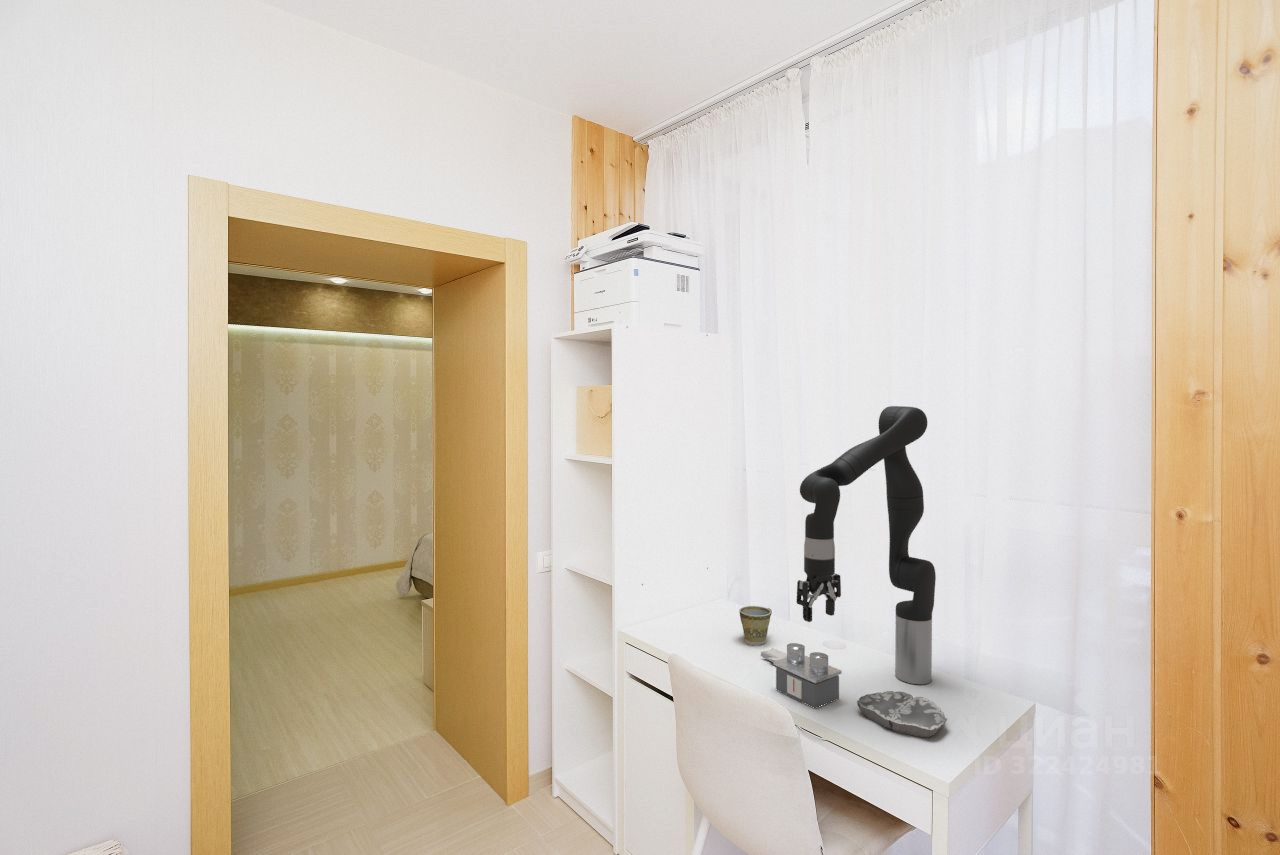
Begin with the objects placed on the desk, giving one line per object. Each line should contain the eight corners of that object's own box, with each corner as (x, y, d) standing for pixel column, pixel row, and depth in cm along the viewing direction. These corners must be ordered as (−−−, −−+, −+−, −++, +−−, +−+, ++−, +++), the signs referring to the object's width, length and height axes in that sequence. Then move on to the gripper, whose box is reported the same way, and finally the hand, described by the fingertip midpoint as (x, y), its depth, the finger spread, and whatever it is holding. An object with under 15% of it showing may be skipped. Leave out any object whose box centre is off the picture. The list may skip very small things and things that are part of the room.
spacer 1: (786, 657, 169) (786, 642, 168) (804, 658, 168) (804, 643, 168) (787, 664, 164) (787, 649, 164) (805, 665, 163) (805, 650, 163)
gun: (752, 651, 183) (774, 643, 190) (752, 662, 183) (773, 654, 190) (805, 674, 169) (826, 664, 176) (804, 686, 170) (825, 676, 176)
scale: (774, 690, 165) (774, 667, 165) (799, 680, 171) (799, 659, 171) (813, 709, 155) (813, 685, 154) (838, 698, 160) (839, 675, 160)
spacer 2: (808, 666, 162) (808, 651, 162) (827, 668, 161) (827, 652, 161) (810, 674, 158) (810, 658, 158) (829, 675, 157) (829, 659, 157)
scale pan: (773, 664, 166) (773, 661, 166) (799, 656, 171) (799, 653, 171) (815, 683, 154) (815, 680, 154) (841, 673, 160) (841, 670, 160)
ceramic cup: (756, 650, 193) (756, 618, 192) (732, 640, 200) (732, 610, 200) (783, 640, 201) (783, 609, 201) (759, 631, 209) (759, 601, 208)
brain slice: (957, 720, 150) (957, 707, 149) (933, 748, 137) (933, 735, 137) (876, 694, 163) (877, 683, 163) (848, 718, 151) (848, 706, 150)
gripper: (812, 561, 152) (812, 627, 152) (849, 553, 160) (849, 616, 160) (788, 555, 158) (788, 619, 158) (825, 548, 166) (825, 608, 166)
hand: (819, 617), depth 159 cm, fingers open, 8 cm apart
